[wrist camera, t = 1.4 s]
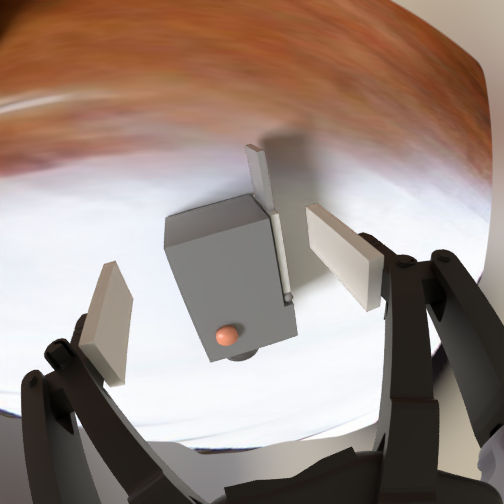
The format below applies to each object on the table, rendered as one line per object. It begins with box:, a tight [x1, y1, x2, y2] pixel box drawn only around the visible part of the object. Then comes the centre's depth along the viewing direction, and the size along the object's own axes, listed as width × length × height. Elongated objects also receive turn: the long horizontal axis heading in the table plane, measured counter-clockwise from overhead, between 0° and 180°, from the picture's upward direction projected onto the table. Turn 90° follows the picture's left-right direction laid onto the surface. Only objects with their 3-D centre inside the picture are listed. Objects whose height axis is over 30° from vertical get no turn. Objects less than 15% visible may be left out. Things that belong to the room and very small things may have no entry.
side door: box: [245, 144, 293, 302], centre depth 32 cm, size 16×1×8 cm, turn 11°
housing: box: [164, 194, 298, 362], centre depth 35 cm, size 19×11×9 cm, turn 11°
